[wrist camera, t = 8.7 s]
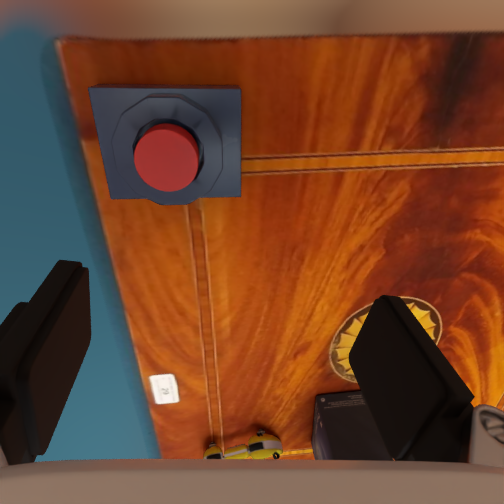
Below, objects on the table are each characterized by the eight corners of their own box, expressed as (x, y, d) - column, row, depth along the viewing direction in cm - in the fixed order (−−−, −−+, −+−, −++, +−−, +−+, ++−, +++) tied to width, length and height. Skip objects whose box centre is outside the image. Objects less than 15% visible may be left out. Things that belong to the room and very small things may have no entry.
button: (143, 182, 22) (138, 192, 20) (134, 122, 20) (128, 129, 18) (200, 181, 22) (200, 191, 21) (197, 123, 20) (196, 129, 19)
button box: (118, 188, 26) (103, 210, 22) (98, 83, 22) (77, 91, 18) (239, 186, 26) (242, 207, 23) (239, 85, 23) (243, 92, 19)
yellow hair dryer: (269, 421, 41) (276, 455, 39) (278, 429, 46) (285, 458, 44) (191, 443, 42) (194, 476, 40) (208, 448, 47) (212, 478, 45)
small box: (312, 394, 41) (340, 492, 32) (365, 387, 41) (408, 483, 32) (308, 443, 46) (331, 540, 37) (355, 438, 46) (389, 531, 38)
